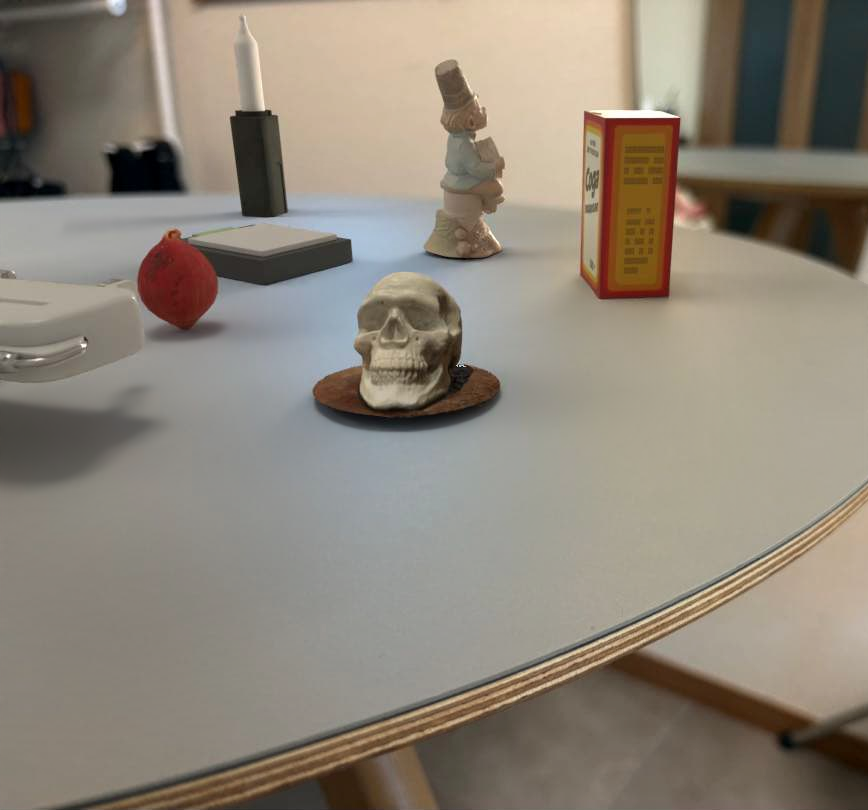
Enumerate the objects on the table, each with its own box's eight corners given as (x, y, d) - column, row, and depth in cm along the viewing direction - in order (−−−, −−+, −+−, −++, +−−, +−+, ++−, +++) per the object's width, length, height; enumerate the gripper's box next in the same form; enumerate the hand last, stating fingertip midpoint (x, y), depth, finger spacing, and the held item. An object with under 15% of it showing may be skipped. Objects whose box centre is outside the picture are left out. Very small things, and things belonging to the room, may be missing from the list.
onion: (188, 343, 65) (171, 239, 62) (129, 335, 67) (110, 233, 64) (238, 323, 70) (225, 225, 67) (182, 315, 72) (166, 220, 69)
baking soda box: (580, 273, 86) (584, 106, 80) (642, 272, 87) (651, 106, 81) (599, 298, 77) (605, 113, 71) (668, 296, 78) (680, 112, 72)
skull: (496, 419, 49) (370, 286, 47) (377, 512, 53) (255, 394, 50) (529, 346, 60) (427, 235, 57) (428, 428, 64) (329, 328, 61)
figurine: (439, 264, 89) (431, 59, 82) (416, 248, 97) (407, 58, 89) (517, 257, 93) (516, 59, 85) (489, 242, 100) (486, 58, 92)
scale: (165, 265, 88) (160, 236, 87) (256, 245, 98) (253, 219, 97) (264, 285, 81) (261, 254, 80) (353, 261, 90) (350, 233, 89)
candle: (257, 209, 120) (234, 14, 110) (291, 210, 119) (270, 14, 109) (238, 215, 115) (212, 12, 106) (273, 217, 114) (250, 12, 105)
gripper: (16, 307, 40) (197, 248, 52) (-301, 278, 45) (-67, 230, 57) (45, 429, 43) (212, 345, 55) (-258, 389, 47) (-43, 320, 60)
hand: (67, 286), depth 56 cm, fingers open, 8 cm apart
